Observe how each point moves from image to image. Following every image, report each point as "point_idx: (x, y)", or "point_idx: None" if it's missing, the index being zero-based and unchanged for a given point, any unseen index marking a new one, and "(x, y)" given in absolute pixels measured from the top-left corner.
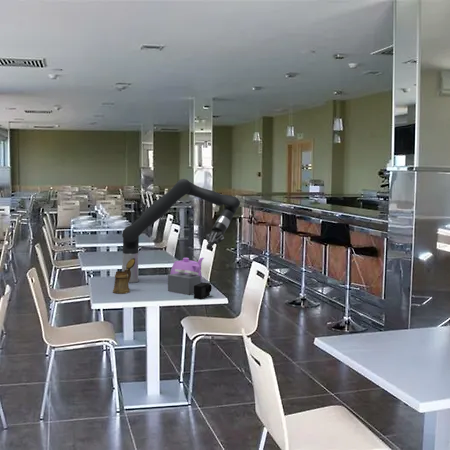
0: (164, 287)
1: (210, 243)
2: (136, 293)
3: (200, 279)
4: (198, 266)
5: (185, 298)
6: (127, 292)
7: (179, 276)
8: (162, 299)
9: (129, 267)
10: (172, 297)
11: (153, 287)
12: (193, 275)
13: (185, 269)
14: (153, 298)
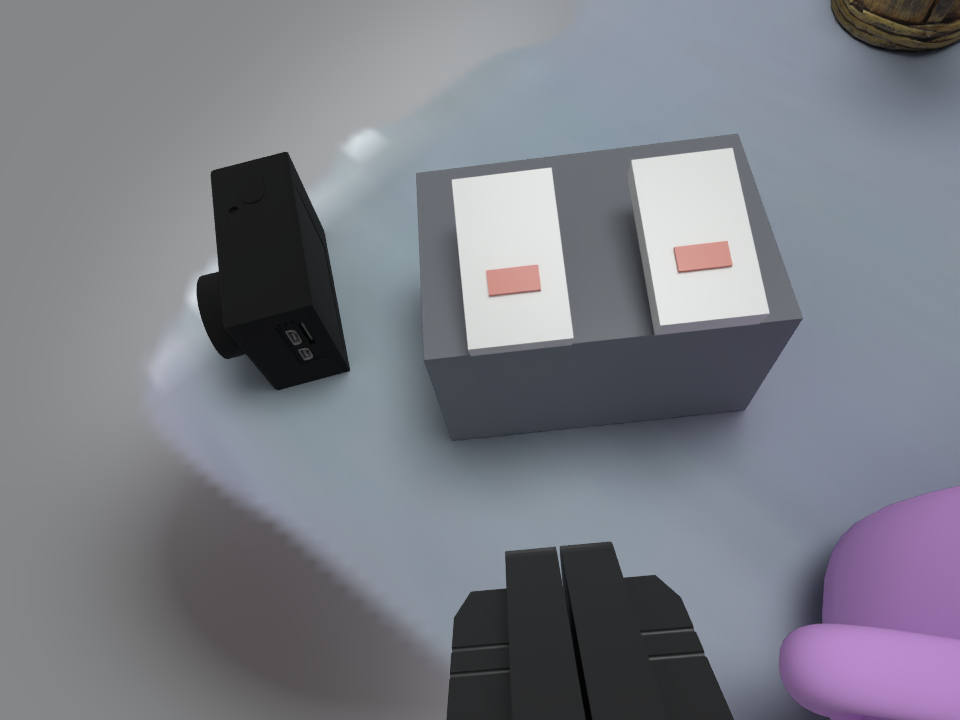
0: (881, 329)
1: (518, 696)
2: (781, 53)
3: (431, 380)
4: (804, 643)
5: (374, 188)
6: (838, 17)
7: (578, 168)
8: (480, 73)
9: None
10: (475, 146)
11: (943, 257)
12: None
13: (954, 508)
14: (551, 51)
